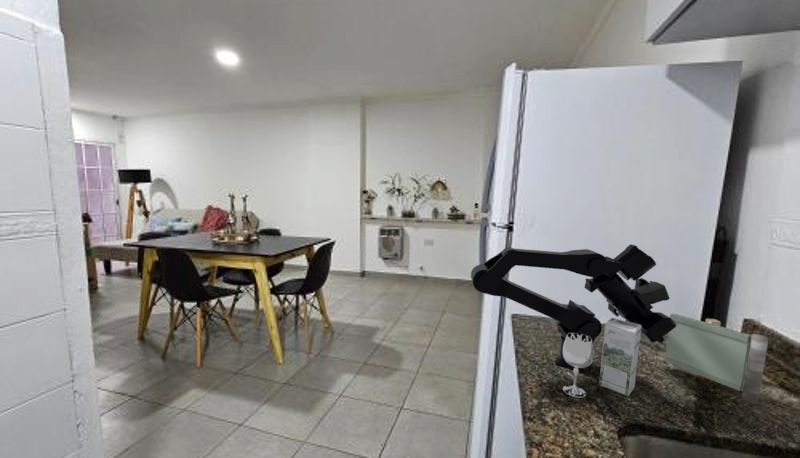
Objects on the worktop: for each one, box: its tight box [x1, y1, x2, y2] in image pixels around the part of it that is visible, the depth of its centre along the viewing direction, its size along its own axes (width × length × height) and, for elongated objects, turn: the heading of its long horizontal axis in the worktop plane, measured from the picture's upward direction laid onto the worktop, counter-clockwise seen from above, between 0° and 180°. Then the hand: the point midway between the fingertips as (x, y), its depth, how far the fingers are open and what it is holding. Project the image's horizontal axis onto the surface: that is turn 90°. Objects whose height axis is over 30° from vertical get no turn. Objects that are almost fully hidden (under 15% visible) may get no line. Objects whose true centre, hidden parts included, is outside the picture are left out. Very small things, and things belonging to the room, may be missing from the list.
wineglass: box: [562, 333, 595, 399], centre depth 73 cm, size 6×6×12 cm
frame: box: [704, 318, 769, 405], centre depth 79 cm, size 17×4×14 cm, turn 173°
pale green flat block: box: [664, 313, 752, 392], centre depth 79 cm, size 14×2×12 cm, turn 28°
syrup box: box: [598, 317, 642, 398], centre depth 75 cm, size 6×6×14 cm
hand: (661, 341), depth 83 cm, fingers closed
